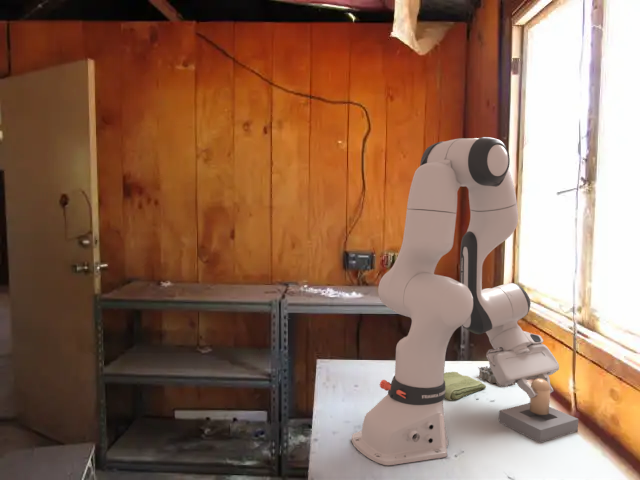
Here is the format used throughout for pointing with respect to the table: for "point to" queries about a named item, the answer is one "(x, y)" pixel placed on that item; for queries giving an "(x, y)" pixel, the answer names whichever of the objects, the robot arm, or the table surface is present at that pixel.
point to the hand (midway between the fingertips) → (542, 394)
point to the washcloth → (460, 385)
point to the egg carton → (489, 375)
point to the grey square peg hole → (538, 422)
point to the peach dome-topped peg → (540, 397)
